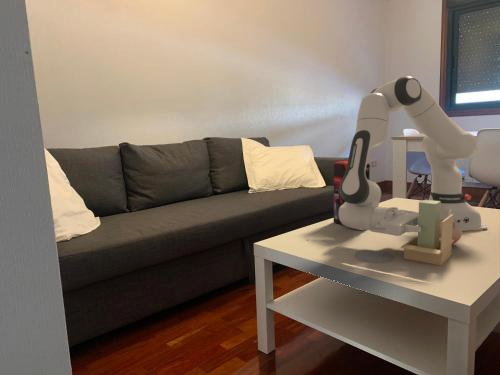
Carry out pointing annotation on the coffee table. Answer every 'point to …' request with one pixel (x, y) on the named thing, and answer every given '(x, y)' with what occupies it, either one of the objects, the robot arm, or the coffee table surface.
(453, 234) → the decorative fruit
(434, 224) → the tall box
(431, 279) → the coffee table surface
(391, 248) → the coffee table surface
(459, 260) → the coffee table surface
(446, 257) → the wooden open tray
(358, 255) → the slate mat
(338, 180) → the graphics card box
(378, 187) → the robot arm
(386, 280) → the coffee table surface
